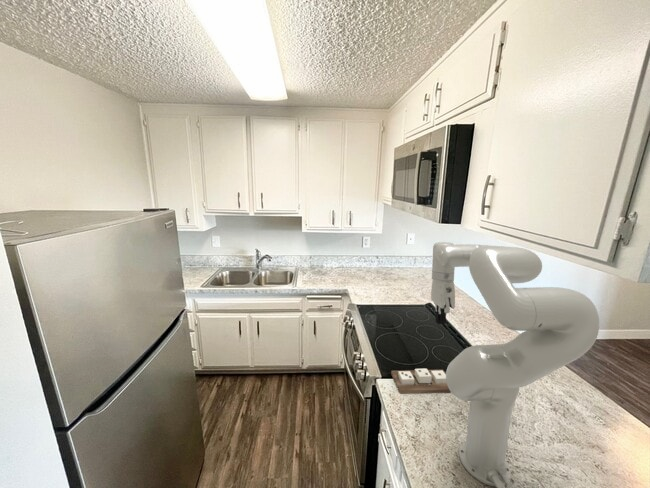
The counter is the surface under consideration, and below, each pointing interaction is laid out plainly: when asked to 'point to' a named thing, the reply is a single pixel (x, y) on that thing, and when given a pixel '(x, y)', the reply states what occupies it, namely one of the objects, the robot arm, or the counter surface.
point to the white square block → (405, 378)
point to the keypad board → (419, 388)
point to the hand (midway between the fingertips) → (440, 322)
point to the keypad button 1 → (438, 377)
